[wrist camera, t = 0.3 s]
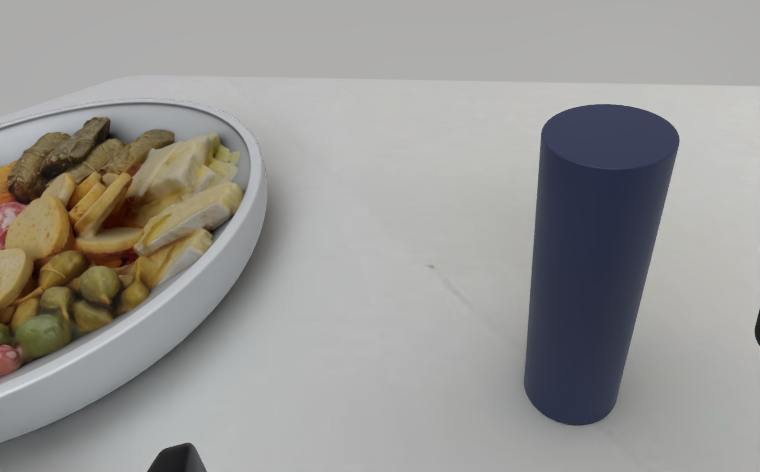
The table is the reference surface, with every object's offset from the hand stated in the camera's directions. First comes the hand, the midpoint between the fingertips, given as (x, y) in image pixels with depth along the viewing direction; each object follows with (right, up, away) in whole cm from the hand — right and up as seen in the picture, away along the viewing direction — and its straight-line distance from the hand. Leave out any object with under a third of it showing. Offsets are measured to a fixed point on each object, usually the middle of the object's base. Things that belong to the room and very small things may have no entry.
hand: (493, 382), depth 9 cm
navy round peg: (+7, -5, +17) cm, 19 cm away
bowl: (-23, 0, +28) cm, 36 cm away
